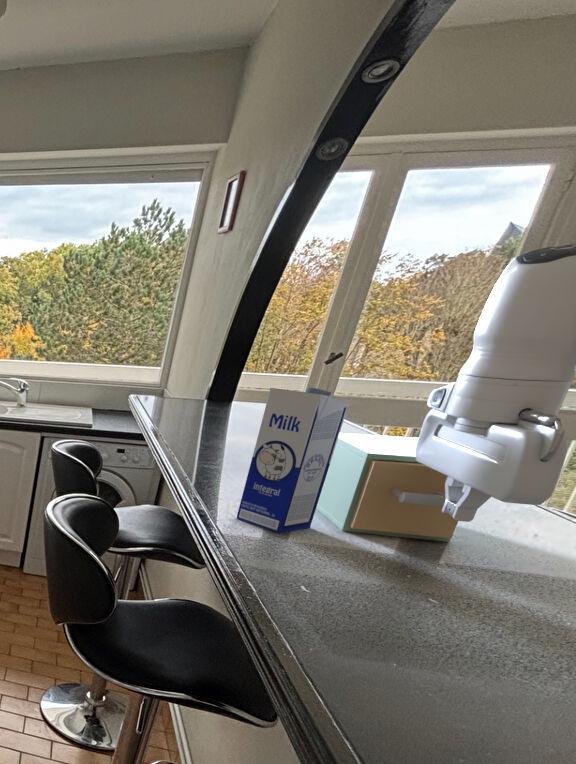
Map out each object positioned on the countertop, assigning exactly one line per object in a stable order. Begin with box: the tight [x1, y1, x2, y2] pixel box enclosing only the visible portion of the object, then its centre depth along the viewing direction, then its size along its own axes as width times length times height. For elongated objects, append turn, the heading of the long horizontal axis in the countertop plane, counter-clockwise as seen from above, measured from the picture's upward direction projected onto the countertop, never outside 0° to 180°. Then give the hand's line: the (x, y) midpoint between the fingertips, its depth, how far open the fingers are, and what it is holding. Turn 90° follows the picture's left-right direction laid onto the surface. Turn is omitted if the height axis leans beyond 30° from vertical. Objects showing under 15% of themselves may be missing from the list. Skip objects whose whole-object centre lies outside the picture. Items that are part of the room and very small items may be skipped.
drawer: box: [349, 459, 459, 539], centre depth 85 cm, size 19×11×10 cm, turn 160°
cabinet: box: [316, 432, 452, 543], centre depth 89 cm, size 16×13×12 cm
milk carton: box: [236, 387, 350, 534], centre depth 85 cm, size 7×7×20 cm
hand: (455, 517), depth 72 cm, fingers closed
